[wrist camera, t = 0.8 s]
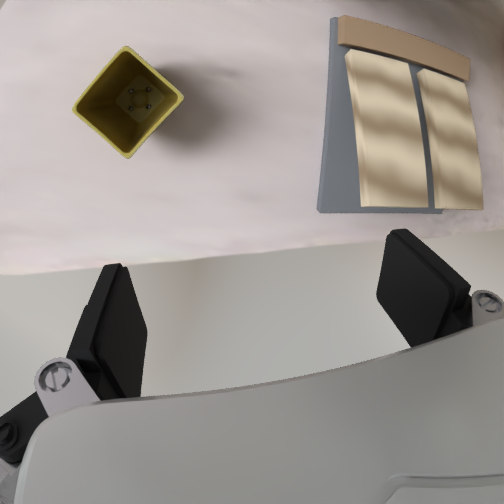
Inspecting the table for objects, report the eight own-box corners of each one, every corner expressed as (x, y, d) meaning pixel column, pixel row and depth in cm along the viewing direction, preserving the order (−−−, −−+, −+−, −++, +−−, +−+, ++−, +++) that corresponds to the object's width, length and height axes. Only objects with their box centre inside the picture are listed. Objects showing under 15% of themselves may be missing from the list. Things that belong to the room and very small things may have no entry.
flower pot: (190, 96, 35) (186, 97, 27) (142, 145, 37) (127, 161, 29) (141, 53, 31) (125, 43, 23) (95, 104, 33) (69, 110, 25)
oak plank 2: (416, 73, 35) (424, 68, 33) (456, 87, 36) (464, 83, 34) (434, 208, 36) (444, 207, 34) (474, 210, 38) (483, 209, 36)
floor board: (330, 19, 31) (340, 14, 28) (458, 59, 35) (472, 59, 32) (316, 209, 45) (325, 218, 42) (436, 210, 49) (448, 218, 46)
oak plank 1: (344, 56, 33) (350, 49, 31) (400, 68, 34) (408, 63, 32) (360, 206, 35) (369, 205, 33) (418, 207, 36) (428, 207, 34)
